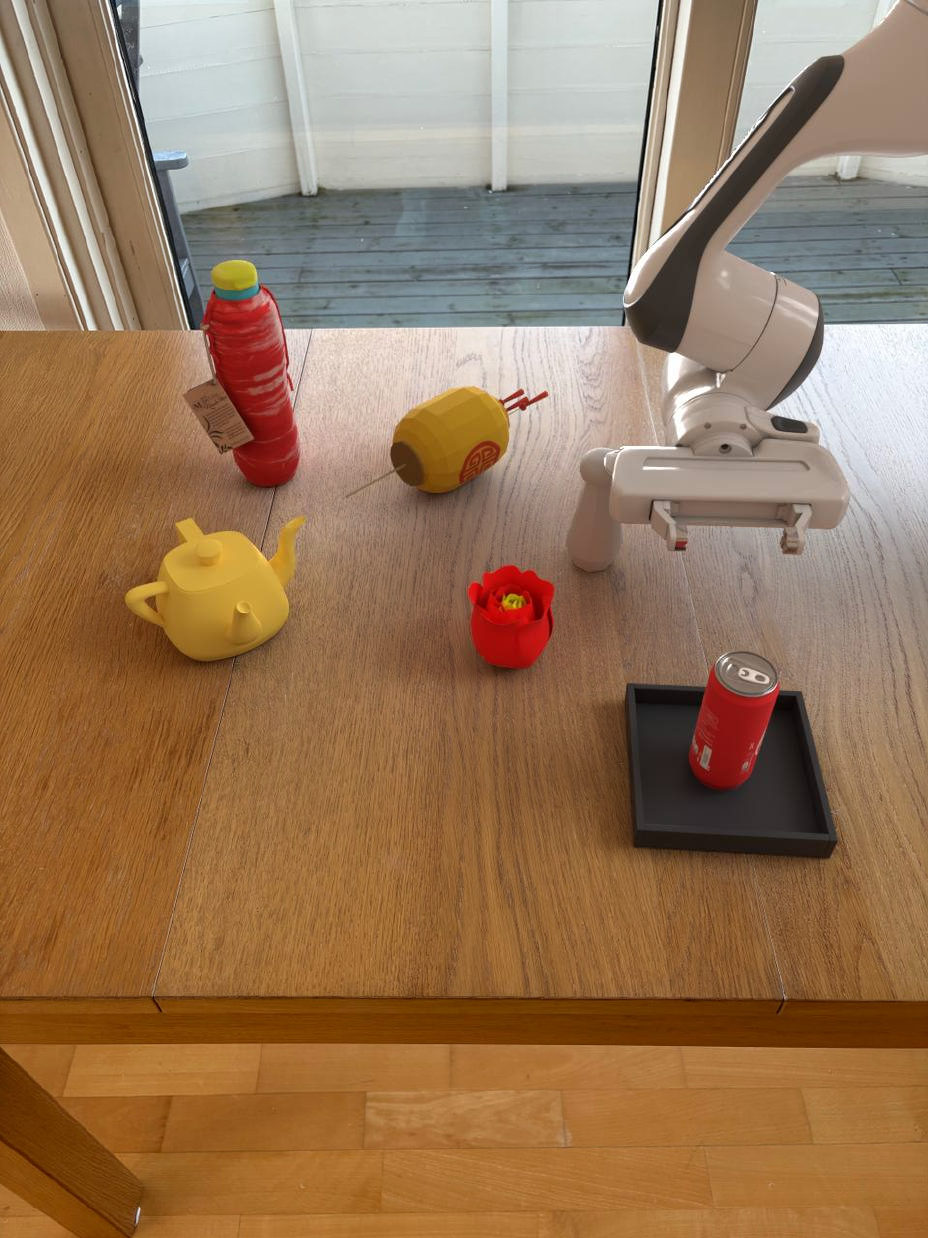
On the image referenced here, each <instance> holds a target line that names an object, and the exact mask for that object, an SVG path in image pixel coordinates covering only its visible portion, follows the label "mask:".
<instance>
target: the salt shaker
mask: <svg viewBox="0 0 928 1238" xmlns="http://www.w3.org/2000/svg"><path fill="white" fill-rule="evenodd" d="M614 451H616V449H612V448H609V447H594V448H592V449H590V450H588V451H587V452H585V453H584V454H582V458H581V460H580V463H579V474H580V476H581V479H582V480H583V482H582V486H581V490H580V493H579V497H578V499H577V503H576V505H575V509H574V511H573V516H572V519H571V523H570V526H569V529H568V532H567V535H566V538H565V545H566V546H565V547H566V548H567V552H568V555H569V556H570V558H571V560H572V563H573V565H574V566H576V567H578V568H580V569H581V570H584V571H585V572H587V573H593V572H602V571H606V570H607V569H608V567H609V565H611V563H613V561H615V559H616V558H617V557H618V556H619V555H620V554H621V553H620V552H621V550H622V546H623V543H624V540H623V529H622V528H623V527H622V523H618V522H617V521H616V520H614V519H613V518H612V517H611V516H610V515H609V502H610V490H611V482H612V479H611V478H610V477H608V476H607V474H606V473H605V470H604V458H605V457H606V454H607V453H611V452H614Z"/></svg>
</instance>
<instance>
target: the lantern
mask: <svg viewBox="0 0 928 1238" xmlns="http://www.w3.org/2000/svg"><path fill="white" fill-rule="evenodd" d="M523 395H525V390H524V389H523V388H520V389H518V390H517V391H515V392H514V393H512V394H510V395H509V396H507V397H505V398H504V399H501V398H499V399H498V398H497V397H495V396H493V395H492V394H491V393H489V392H487V391H485V390H484V389H481V388H479V387H477V386H475V385H470V386H461V387H453V388H449V389H447V390H445V391H444V392H441V393H440V394H437V395H436V396H434V397H432V398H430V399H428V400H426V401H424V402H422V403H420V404H418V405H417V406H414V407H413V408H411V409H410V410H409V411H408V412H407V413H406V414H405V415H404V416H403V417H402V418H401V419H400V420H399V422H398V423H397V424H396V425H395V427H394V431H393V436H392V443H391V446H390V450H389V456H390V460H391V461H390V462H391V465H392V467H393V469H392V470H390V471H388V472H386V473H384V474H382V475H381V476H379V477H377V478H375V479H374V480H371V481H369V482H367V483H366V484H364V485H363V486H361V487H359V488H357V489H355V490H353V491H351V492H349V493H348V494H346V495H345V498H347V499H348V498H350V497H352V496H354V495H356V494H358V493H359V492H361V491H363V490H365V489H366V488H368V487H371V486H372V485H374V484H376V483H377V482H379V481H381V480H383V479H385V478H387V477H388V476H390V475H392V474H394V473H396V475H398V478H400V479H401V481H402V482H403V483H405V484H407V485H408V486H410V487H416V488H417V489H418V490H420V491H423V492H426V493H428V494H443V493H446V492H447V493H448V492H452V491H454V490H456V489H457V488H459V487H461V486H462V485H465V484H466V483H467V482H469V481H471V480H473V479H474V478H476V477H478V476H479V475H481V474H483V473H484V472H486V471H488V470H490V469H491V468H492V467H493V466H494V465H495V464H497V463H498V462H499V461H500V460H501V459H502V458H503V456H504V455H505V453H506V452H507V449H508V445H509V441H510V427H511V423H510V418H509V416H510V415H512V414H514V413H515V412H518V411H519V410H520V411H523V412H524V411H526V410H527V408H528V407H529V406H531V405H533V404H535V403H537V402H540V401H541V400H543V399H546V398H547V397H549V393H548V391H546V390H544V391H542V392H541V393H539V394H538V395H536V396H534V397H533V398H532V399H530V400H529V397H528V396H524V397H523ZM521 396H522V398H521V399H519V400H517V401H516V402H514V403H513V404H511V405H509V406H508V407H505V404H506V403H509V402H511V401H513V400H515V399H517V398H519V397H521ZM516 408H517V409H516ZM512 410H513V411H512ZM510 411H512V412H510ZM509 412H510V413H509Z"/></svg>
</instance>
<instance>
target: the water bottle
mask: <svg viewBox="0 0 928 1238" xmlns="http://www.w3.org/2000/svg"><path fill="white" fill-rule="evenodd" d="M210 277H211V281H212V284H213V287H214V288H213V290H212V291H211V293H210V297H209V299H208V301H207V303H206V307H205V311H204V314H203V318H202V322H201V323H200V324H199V327H200V328H199V329H200V331H202V336H203V342H204V343H203V344H204V348H205V351H206V356H207V361H208V364H209V368H210V372H211V373H210V374H211V376H212V378H211V379H209V380H207V381H205V382H203V383H200V384H198V385H197V386H194V387H192V388H190V389H188V390H187V391H186V392H184V393H183V394H182V395H181V396H182V397H183V399H184V400H185V401H186V403H187V405H188V406H189V409H190V410H191V411H192V413H193V414H194V416H195V417H196V419H197V421H198V422H199V423H200V425H201V427H202V428H203V430H204V431H205V433H206V434H207V436H208V438H209V439H210V441H211V442H212V443H213V445H214V447H215V448H216V450H217V451H218V453H219V455H221V456H222V455H225V454H226V453H228V452H230V451H232V455H233V459H234V462H235V464H236V465H237V468H238V469H239V471H240V472H241V474H242V475H243V476H244V478H245V479H246V480H247V481H248V482H249V483H251V484H252V485H256V486H258V487H262V488H263V487H265V488H266V487H267V488H274V487H278V486H281V485H285V484H286V483H288V482H289V481H290V480H292V479H293V478H294V477H295V475H296V473H297V469H298V467H299V463H300V458H301V454H302V448H301V442H300V433H299V429H298V426H297V421H296V417H295V414H294V413H295V412H294V408H293V404H292V401H291V396H290V391H291V392H294V391H295V389H294V385H293V380H292V378H291V376H290V373H288V369H289V366H290V357H289V356H290V355H289V349H288V343H287V336H286V332H285V328H284V324H283V320H282V316H281V312H280V311H281V310H280V307H279V305H278V302H277V300H276V299H275V296H274V294H273V293H272V292H271V290H270V289H269V288H268V287H266V286H264V285H261V283H259V281H258V271H257V268H256V267H255V265H254V264H253V263H252V262H249V261H246V260H243V259H242V260H241V259H239V260H237V259H236V260H233V259H232V260H228V261H222V262H220V263H218V264H216V265H215V266H214V267H213V268H212V270H211V272H210ZM208 342H209V343H208ZM289 389H290V390H289Z"/></svg>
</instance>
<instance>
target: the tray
mask: <svg viewBox="0 0 928 1238" xmlns="http://www.w3.org/2000/svg"><path fill="white" fill-rule="evenodd" d="M705 689H706V686H702V685H701V686H697V685H682V684H681V685H680V684H679V685H676V684H658V683H636V682H635V683H634V682H627V683H626V688H625V694H624V699H623V704H624V706H623V707H624V722H625V736H626V750H627V752H626V754H627V767H628V780H629V781H628V782H629V783H628V784H629V797H630V815H631V830H632V845H633V846H632V847H633V848H643V849H659V850H674V851H675V850H677V851H695V852H712V853H713V852H714V853H728V854H729V853H730V854H745V855H762V856H763V855H764V856H780V857H781V856H783V857H799V858H800V857H801V858H817V859H818V858H819V859H830V858H831V857H832V854H833V852H834V850H835V848H836V846H837V844H838V842H839V839H838V835H837V831H836V827H835V823H834V819H833V813H832V810H831V806H830V801H829V798H828V793H827V789H826V785H825V781H824V778H823V773H822V769H821V765H820V761H819V756H818V752H817V749H816V744H815V740H814V735H813V732H812V727H811V723H810V719H809V714H808V710H807V707H806V702H805V699H804V694H803V691H802V690H787V689H786V690H784V689H779V692H778V695H777V698H776V701H775V704H774V707H773V710H772V713H771V716H770V719H769V722H768V725H767V728H766V731H765V734H764V737H763V740H762V743H761V746H760V749H759V752H758V755H757V758H756V761H755V764H754V767H753V770H752V773H751V775H750V776H749V778H748V779H747V780H746V781H745V782H743V783H741V784H740V785H739V786H738V787H736V788H734V789H732V790H727V791H719V790H714V789H711V788H709V787H707V786H705V785H703V784H702V783H701V782H699V781H698V779H697V778H696V777H695V775H694V773H693V771H692V767H691V765H690V761H689V753H690V749H691V745H692V741H693V737H694V733H695V729H696V725H697V721H698V717H699V713H700V709H701V705H702V701H703V697H704V693H705Z"/></svg>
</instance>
